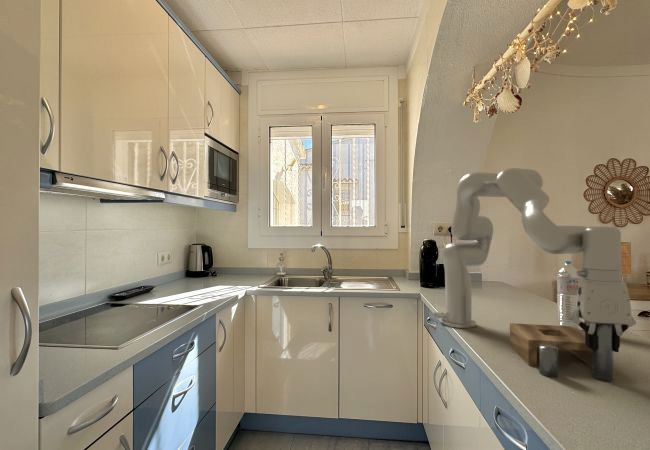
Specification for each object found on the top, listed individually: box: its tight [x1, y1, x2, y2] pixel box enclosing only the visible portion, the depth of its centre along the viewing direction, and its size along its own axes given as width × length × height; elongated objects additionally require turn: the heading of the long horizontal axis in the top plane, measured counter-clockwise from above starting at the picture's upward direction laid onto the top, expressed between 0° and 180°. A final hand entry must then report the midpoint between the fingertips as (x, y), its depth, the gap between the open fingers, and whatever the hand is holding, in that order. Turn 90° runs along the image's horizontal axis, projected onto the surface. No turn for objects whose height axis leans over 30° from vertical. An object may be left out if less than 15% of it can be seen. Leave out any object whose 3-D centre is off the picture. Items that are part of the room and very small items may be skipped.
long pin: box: [591, 323, 614, 383], centre depth 85 cm, size 4×4×16 cm
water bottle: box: [556, 260, 581, 330], centre depth 124 cm, size 7×7×25 cm
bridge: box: [509, 323, 592, 368], centre depth 99 cm, size 18×16×7 cm
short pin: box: [538, 344, 559, 379], centre depth 87 cm, size 4×4×7 cm
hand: (602, 348), depth 85 cm, fingers closed on long pin, 4 cm apart
